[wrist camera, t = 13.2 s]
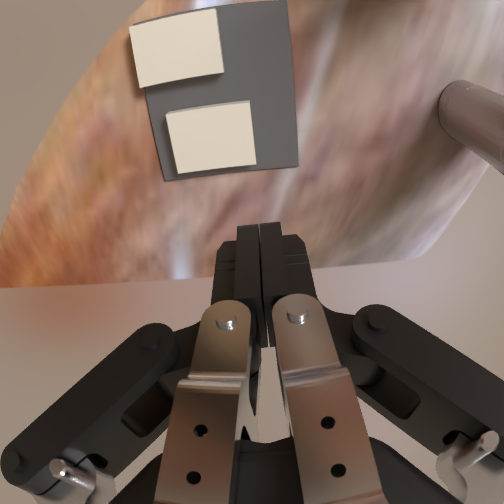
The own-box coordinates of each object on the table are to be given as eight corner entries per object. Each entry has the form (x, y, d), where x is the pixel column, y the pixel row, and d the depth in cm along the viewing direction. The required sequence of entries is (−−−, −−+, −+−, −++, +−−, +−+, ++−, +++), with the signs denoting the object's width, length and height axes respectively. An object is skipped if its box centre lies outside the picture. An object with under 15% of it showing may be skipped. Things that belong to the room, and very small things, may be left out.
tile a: (215, 8, 26) (129, 27, 27) (223, 72, 31) (139, 88, 32) (216, 9, 28) (133, 27, 28) (224, 71, 33) (144, 85, 33)
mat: (285, 0, 27) (286, 0, 27) (298, 165, 41) (298, 166, 41) (134, 24, 28) (133, 24, 28) (165, 179, 42) (165, 180, 42)
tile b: (249, 102, 34) (165, 114, 34) (256, 164, 39) (178, 173, 39) (249, 99, 35) (168, 111, 36) (255, 159, 40) (180, 168, 40)
